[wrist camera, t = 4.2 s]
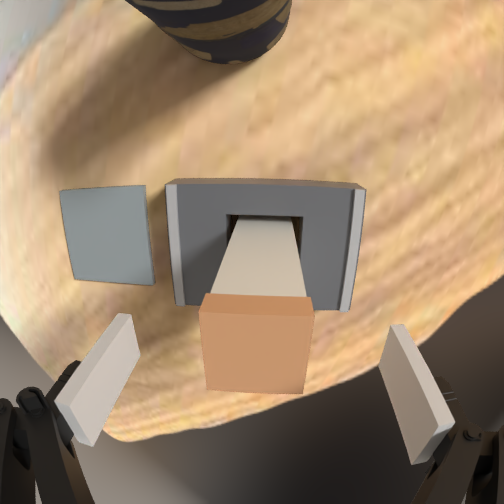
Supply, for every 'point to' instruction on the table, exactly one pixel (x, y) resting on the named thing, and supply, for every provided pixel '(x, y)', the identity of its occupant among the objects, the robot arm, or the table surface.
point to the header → (265, 203)
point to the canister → (220, 26)
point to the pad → (108, 234)
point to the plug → (258, 312)
